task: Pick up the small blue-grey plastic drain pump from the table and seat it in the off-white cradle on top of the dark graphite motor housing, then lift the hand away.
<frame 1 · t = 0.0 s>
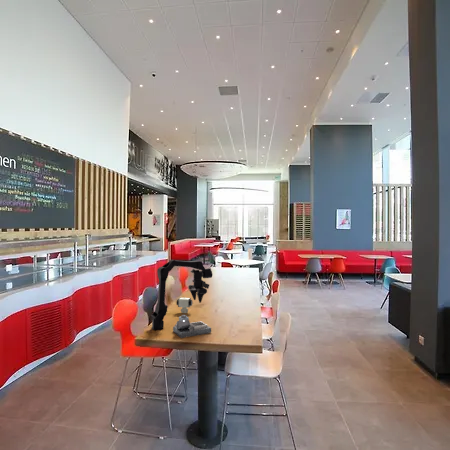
hand: (197, 301, 216), 15 cm above the table, tool pointing down, fingers open, 9 cm apart
pneumatic valve: (184, 313, 241), on the table
motor housing: (192, 332, 196), on the table
drain pump: (183, 326, 208), on the table
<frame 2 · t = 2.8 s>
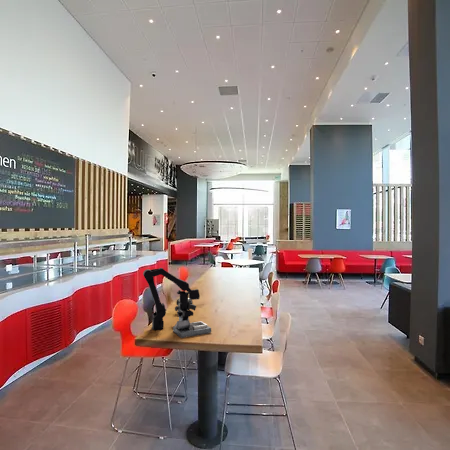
hand: (183, 323, 208), 2 cm above the table, tool pointing down, fingers closed on drain pump, 5 cm apart
drain pump: (183, 326, 208), on the table, touching gripper
everything else where it was.
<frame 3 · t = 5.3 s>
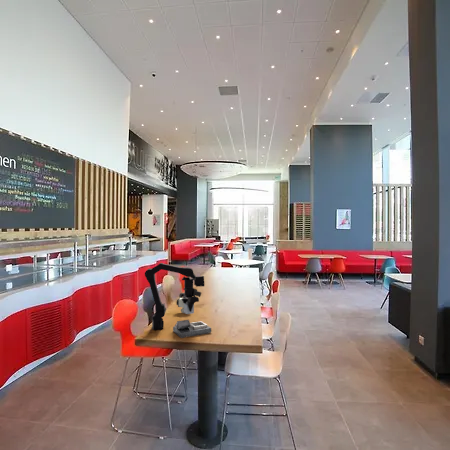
hand: (188, 310, 205), 11 cm above the table, tool pointing down, fingers closed on drain pump, 5 cm apart
drain pump: (188, 312, 205), point 10 cm above the table, touching gripper
everything else where it was.
when the fingers open (5 cm above the table, at t = 8.1 s): drain pump stays where it is, resting on motor housing.
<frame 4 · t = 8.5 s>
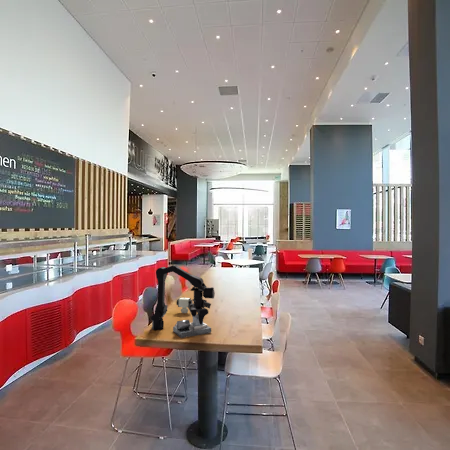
hand: (197, 322, 198), 5 cm above the table, tool pointing down, fingers open, 9 cm apart
drain pump: (197, 326, 198), point 3 cm above the table, touching motor housing
everything else where it was.
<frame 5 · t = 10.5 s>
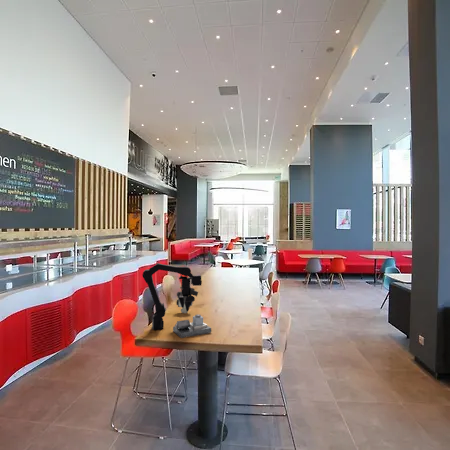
hand: (185, 309, 206), 12 cm above the table, tool pointing down, fingers open, 9 cm apart
nothing on the table moved.
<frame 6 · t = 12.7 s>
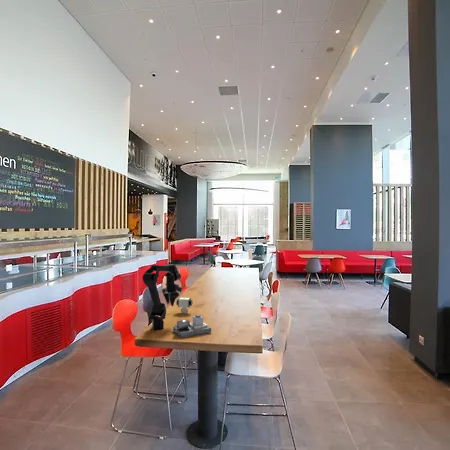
hand: (170, 304, 217), 12 cm above the table, tool pointing down, fingers open, 9 cm apart
nothing on the table moved.
at the end: drain pump 0.0 cm from the target spot on the motor housing, point 3.0 cm above the motor housing's base; drain pump tilted 0°; the gripper is holding nothing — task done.
